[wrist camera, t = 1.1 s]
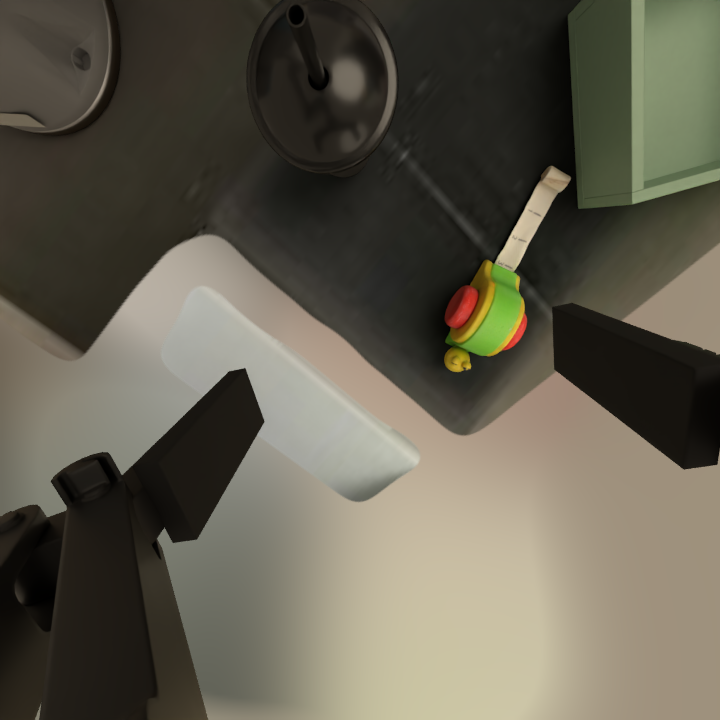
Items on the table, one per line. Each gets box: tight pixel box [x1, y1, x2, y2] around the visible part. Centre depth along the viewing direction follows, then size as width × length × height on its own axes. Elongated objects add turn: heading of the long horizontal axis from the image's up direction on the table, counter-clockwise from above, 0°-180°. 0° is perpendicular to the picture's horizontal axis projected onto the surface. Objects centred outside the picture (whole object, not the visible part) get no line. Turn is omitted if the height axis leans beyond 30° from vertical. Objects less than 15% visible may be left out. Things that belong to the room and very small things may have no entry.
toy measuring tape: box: [444, 166, 571, 372], centre depth 31 cm, size 6×19×7 cm, turn 156°
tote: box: [568, 0, 720, 209], centre depth 25 cm, size 14×14×7 cm
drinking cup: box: [247, 0, 398, 177], centre depth 21 cm, size 8×8×20 cm
